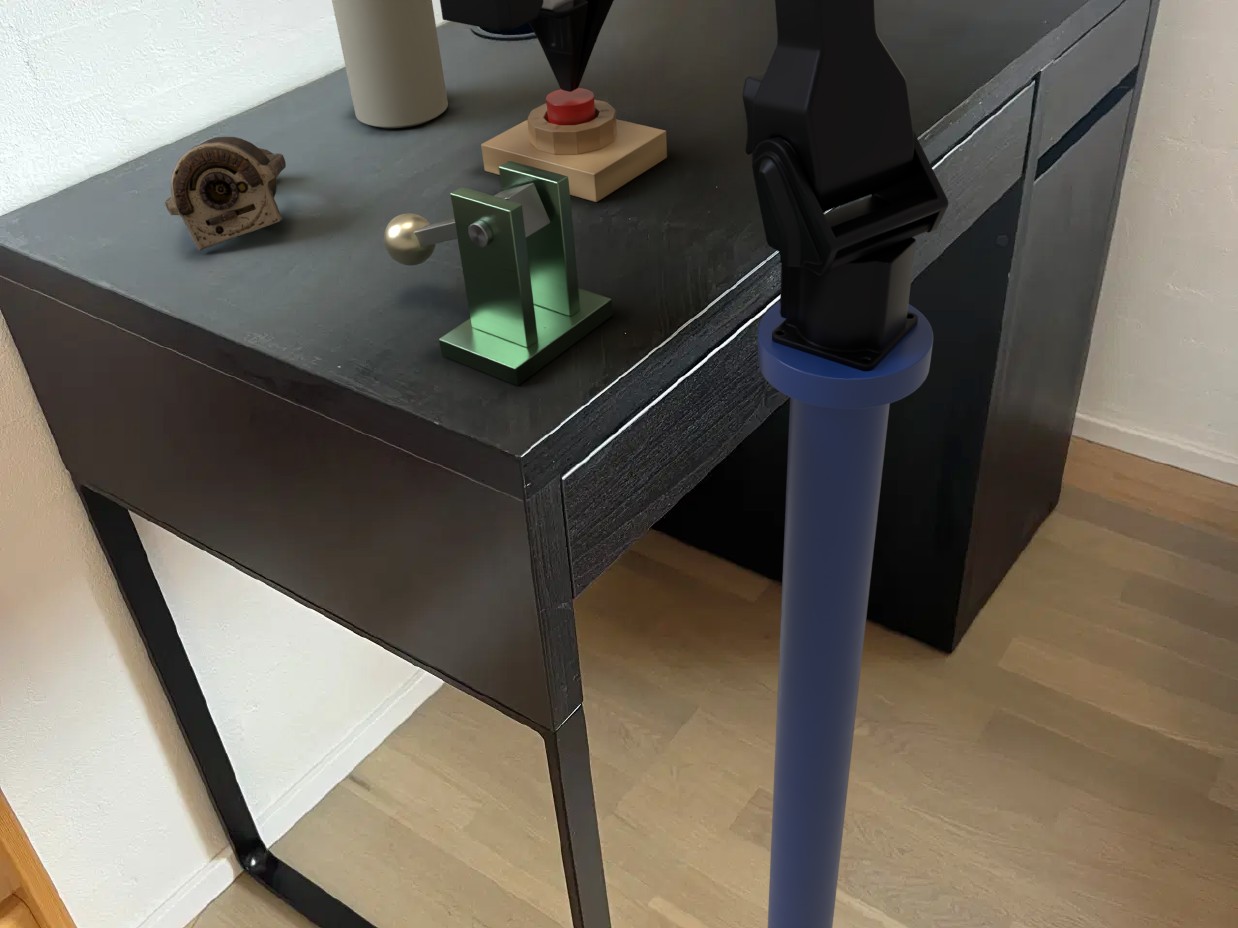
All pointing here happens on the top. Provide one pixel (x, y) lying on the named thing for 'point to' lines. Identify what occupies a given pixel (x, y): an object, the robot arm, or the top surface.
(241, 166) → the mechanical counter
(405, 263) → the lever
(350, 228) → the top surface
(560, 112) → the button
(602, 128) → the button block
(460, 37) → the top surface
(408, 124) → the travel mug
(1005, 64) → the top surface
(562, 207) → the bracket
